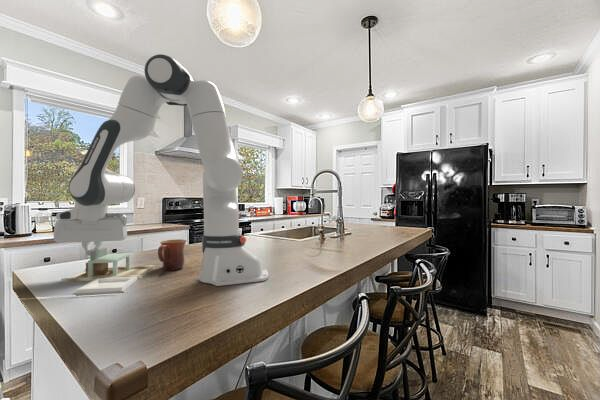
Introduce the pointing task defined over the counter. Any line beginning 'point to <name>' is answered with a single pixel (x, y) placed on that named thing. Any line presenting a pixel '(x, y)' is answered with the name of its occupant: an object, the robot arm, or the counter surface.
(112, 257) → the green stool
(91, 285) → the dish
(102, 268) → the block
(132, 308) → the counter surface
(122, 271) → the board
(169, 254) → the mug
